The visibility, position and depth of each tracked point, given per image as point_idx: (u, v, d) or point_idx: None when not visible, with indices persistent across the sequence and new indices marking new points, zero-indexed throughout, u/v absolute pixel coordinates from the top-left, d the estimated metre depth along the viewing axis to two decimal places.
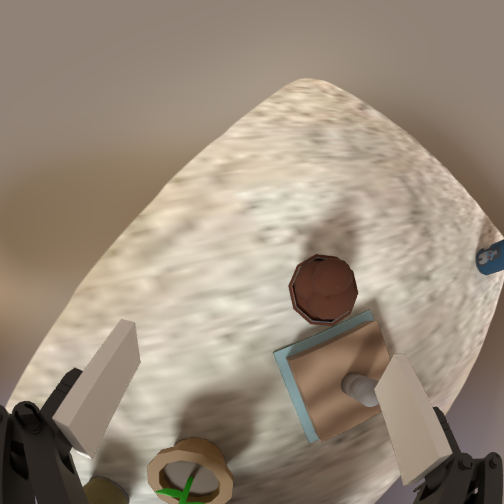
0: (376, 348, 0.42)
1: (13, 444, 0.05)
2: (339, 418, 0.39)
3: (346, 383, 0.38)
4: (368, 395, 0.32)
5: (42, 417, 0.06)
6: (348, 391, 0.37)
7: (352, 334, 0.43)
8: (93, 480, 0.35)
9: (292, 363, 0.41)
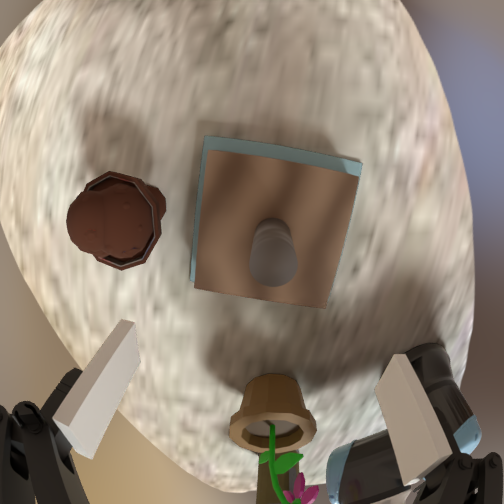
0: (247, 172, 0.28)
1: (12, 444, 0.05)
2: (309, 274, 0.32)
3: None
4: (269, 273, 0.23)
5: (42, 417, 0.06)
6: None
7: (204, 197, 0.30)
8: None
9: (198, 287, 0.34)
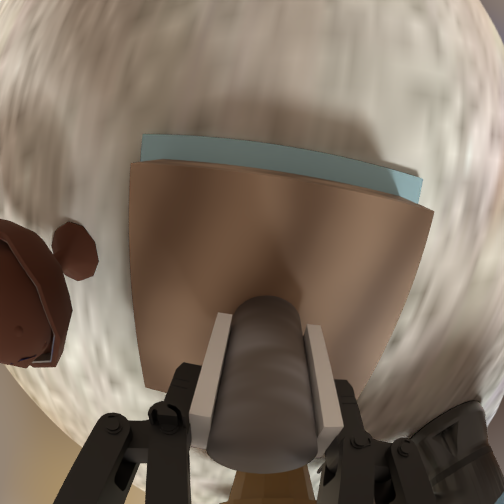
0: (211, 207, 0.13)
1: (132, 452, 0.07)
2: None
3: None
4: (254, 462, 0.08)
5: (185, 421, 0.07)
6: None
7: (132, 256, 0.15)
8: None
9: (150, 387, 0.19)
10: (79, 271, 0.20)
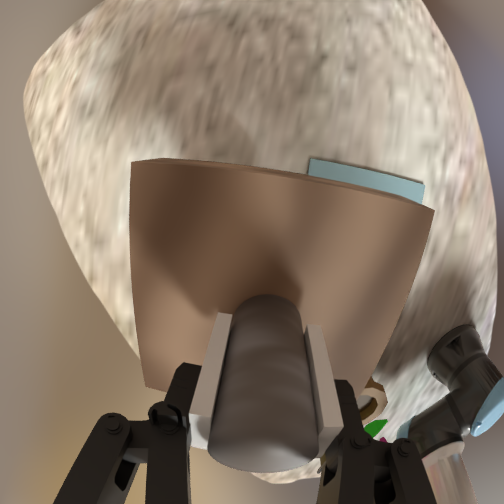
0: (212, 205, 0.13)
1: (132, 452, 0.07)
2: None
3: None
4: (255, 461, 0.08)
5: (185, 421, 0.07)
6: None
7: (133, 255, 0.15)
8: None
9: (150, 386, 0.19)
10: None
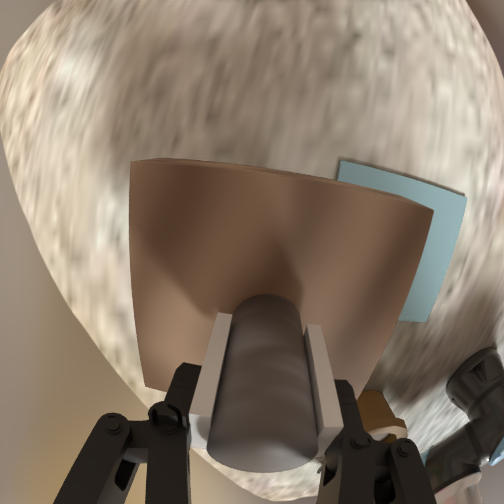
0: (211, 205, 0.13)
1: (132, 453, 0.07)
2: None
3: None
4: (254, 461, 0.08)
5: (185, 421, 0.07)
6: None
7: (133, 254, 0.15)
8: None
9: (150, 386, 0.19)
10: None
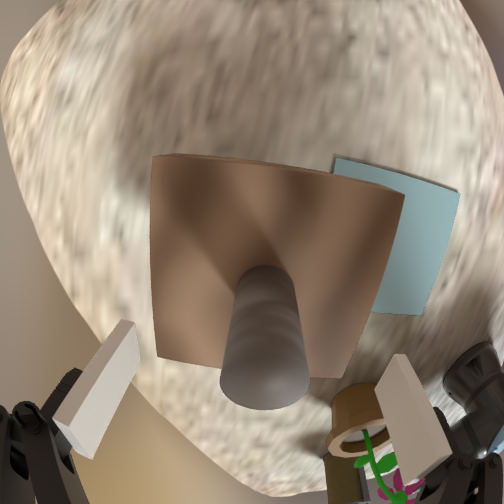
0: (220, 191, 0.17)
1: (12, 444, 0.05)
2: (322, 341, 0.21)
3: None
4: (258, 394, 0.11)
5: (42, 417, 0.06)
6: None
7: (152, 234, 0.18)
8: (325, 463, 0.53)
9: (162, 356, 0.22)
10: None
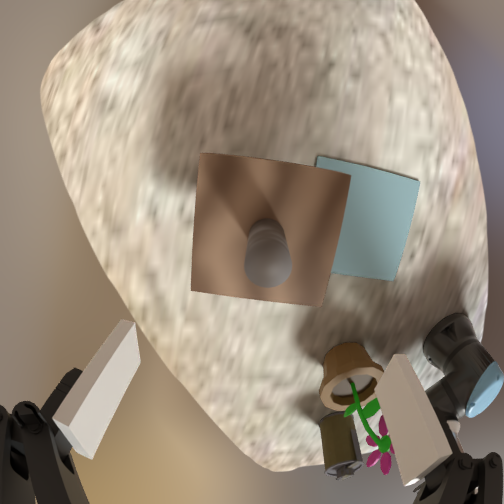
0: (240, 174, 0.29)
1: (12, 444, 0.05)
2: (305, 273, 0.32)
3: None
4: (264, 274, 0.23)
5: (42, 417, 0.06)
6: None
7: (197, 200, 0.30)
8: (321, 427, 0.65)
9: (194, 289, 0.34)
10: None
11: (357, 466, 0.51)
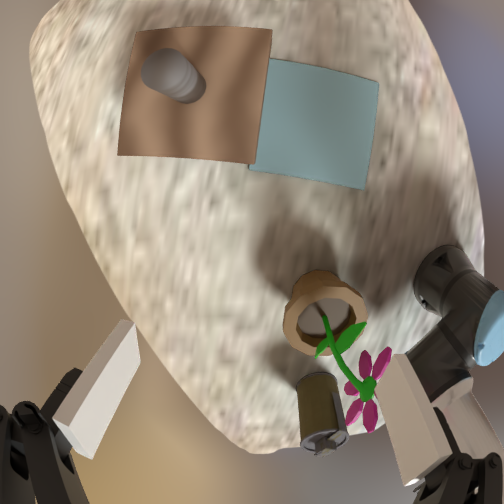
0: (167, 40, 0.24)
1: (12, 444, 0.05)
2: (230, 123, 0.27)
3: None
4: (158, 76, 0.18)
5: (42, 417, 0.06)
6: (173, 98, 0.23)
7: (130, 67, 0.25)
8: (298, 392, 0.59)
9: (120, 153, 0.29)
10: None
11: (341, 439, 0.46)
